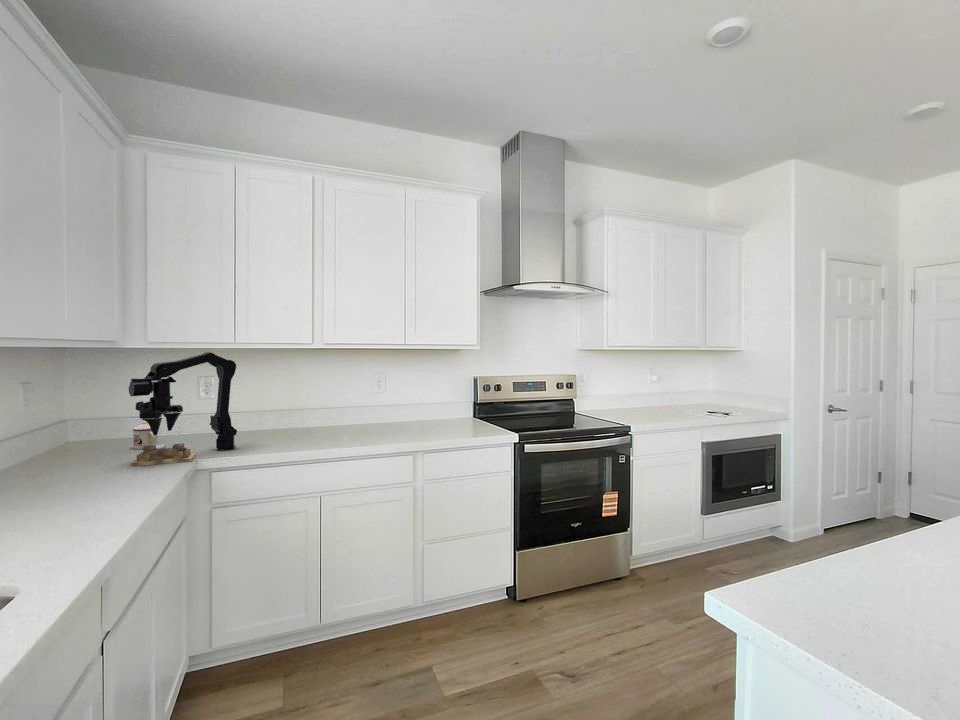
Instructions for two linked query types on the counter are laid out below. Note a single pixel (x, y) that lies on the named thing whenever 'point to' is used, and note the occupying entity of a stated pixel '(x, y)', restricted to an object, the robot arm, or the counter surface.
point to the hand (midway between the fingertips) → (162, 432)
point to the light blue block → (160, 446)
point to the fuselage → (163, 451)
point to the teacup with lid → (143, 436)
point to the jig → (178, 457)
